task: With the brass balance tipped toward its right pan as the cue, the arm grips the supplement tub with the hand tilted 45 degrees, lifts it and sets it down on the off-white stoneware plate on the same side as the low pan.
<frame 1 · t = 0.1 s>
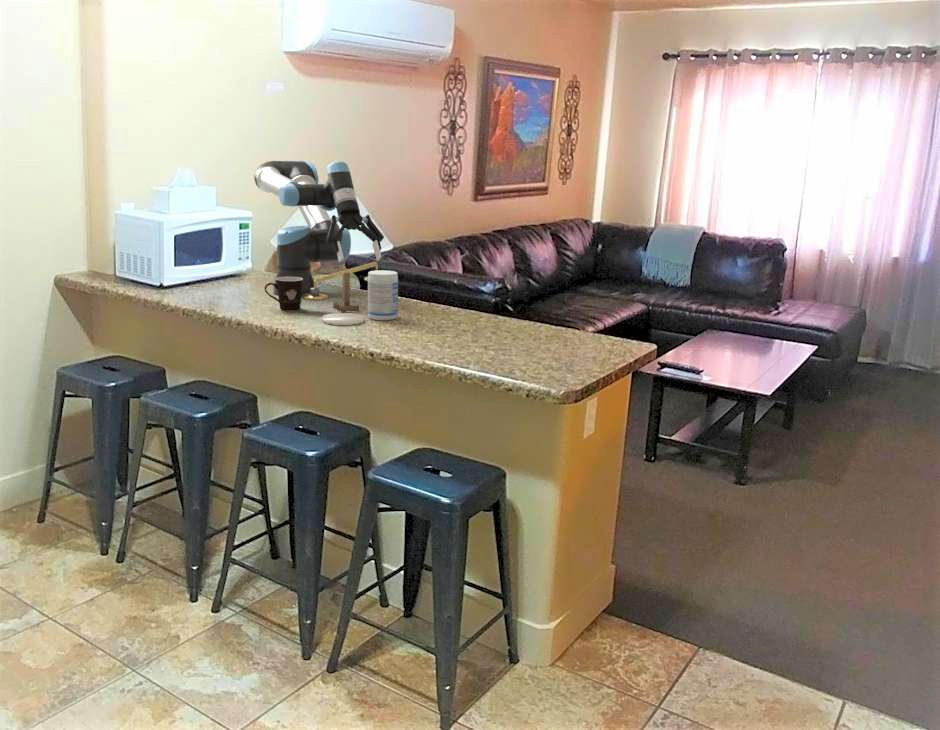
hand: (360, 260, 299), 15 cm above the table, tool tilted 35°, fingers open, 13 cm apart
plate: (343, 321, 278), on the table
balance: (346, 309, 295), on the table
supplement tub: (382, 318, 285), on the table
coffee mug: (285, 309, 293), on the table
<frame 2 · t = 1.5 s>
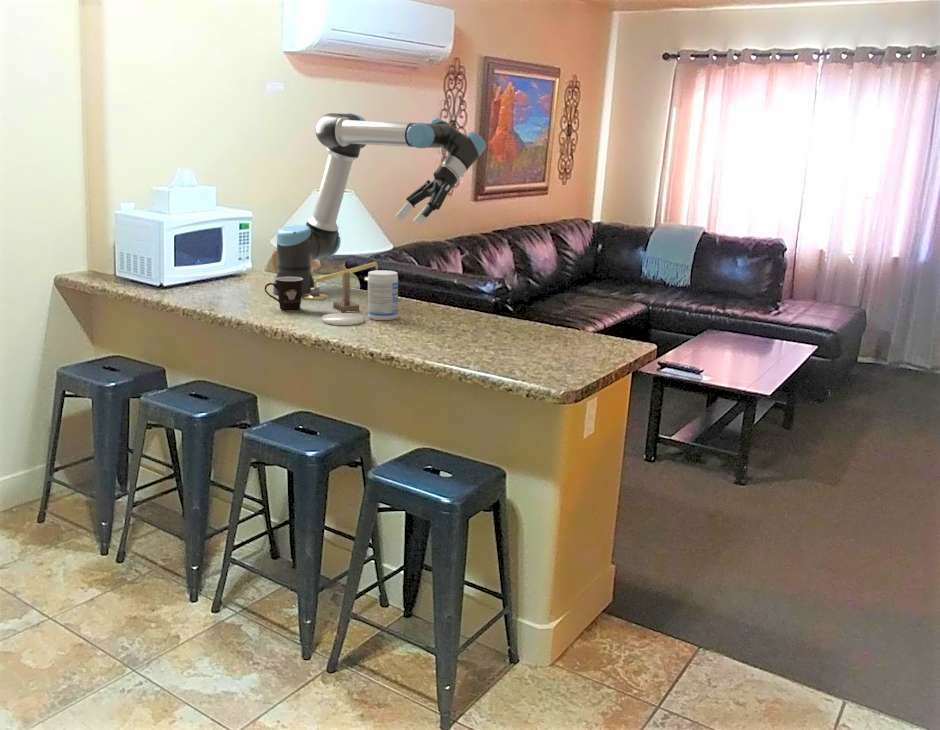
hand: (406, 221, 286), 30 cm above the table, tool tilted 45°, fingers open, 13 cm apart
nothing on the table moved.
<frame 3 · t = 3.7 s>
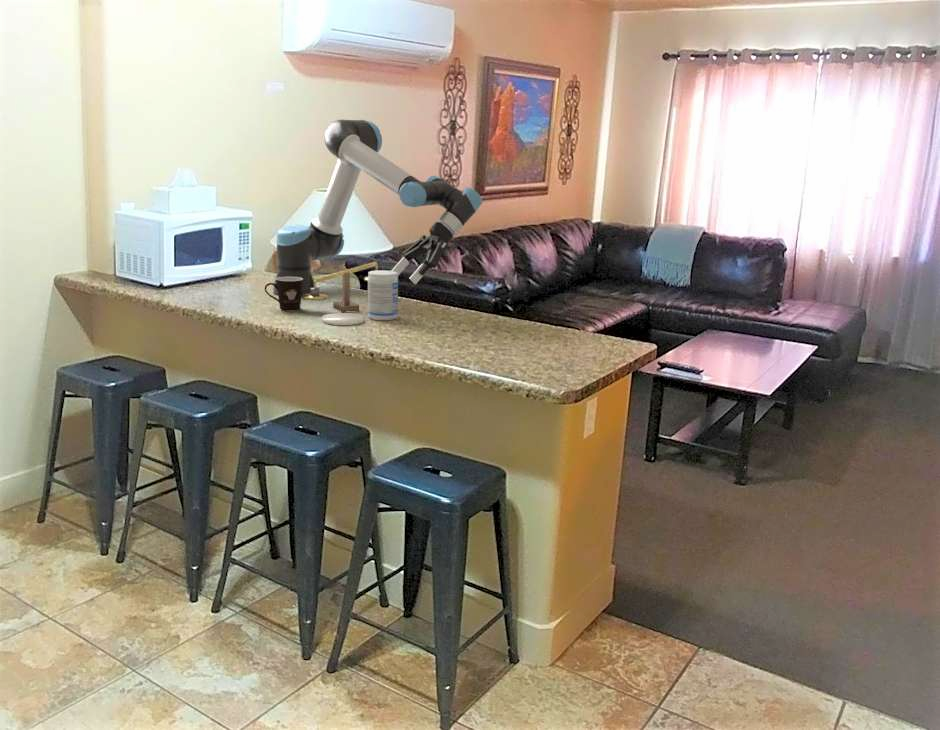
hand: (402, 278, 284), 13 cm above the table, tool tilted 45°, fingers open, 13 cm apart
nothing on the table moved.
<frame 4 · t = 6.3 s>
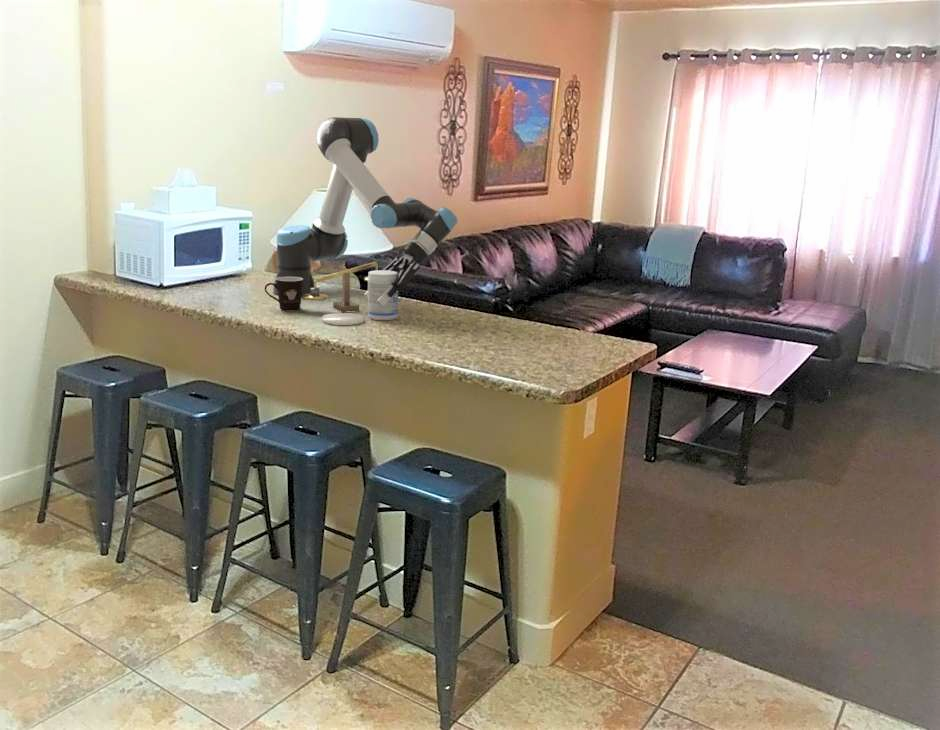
hand: (373, 300, 282), 6 cm above the table, tool tilted 45°, fingers closed on supplement tub, 10 cm apart
supplement tub: (382, 318, 285), on the table, touching gripper
everything else where it was.
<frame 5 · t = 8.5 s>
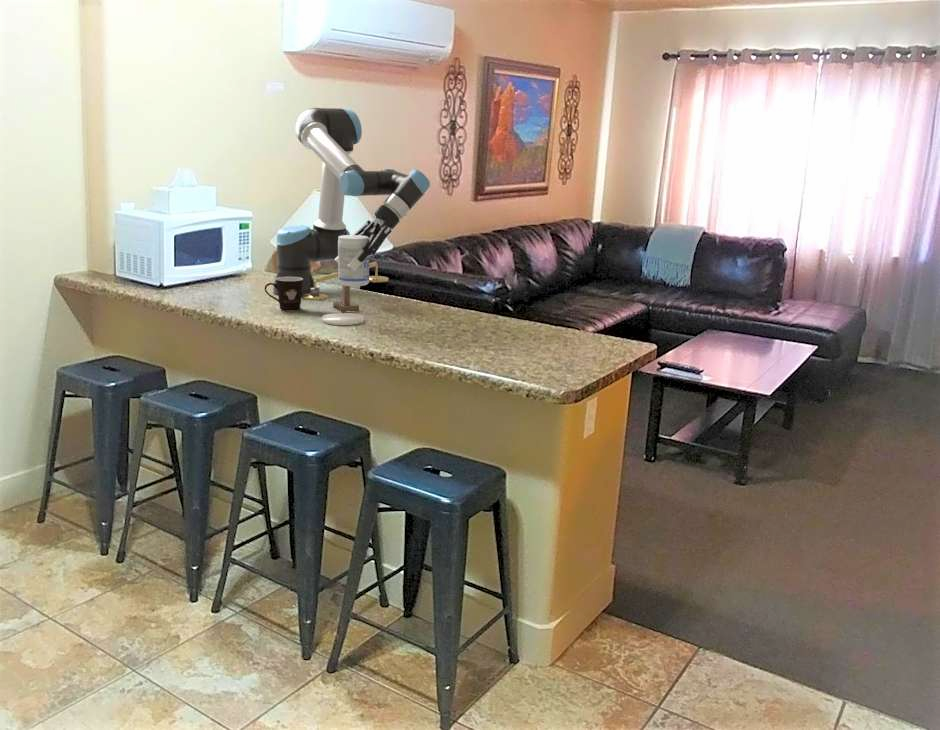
hand: (344, 265, 273), 17 cm above the table, tool tilted 45°, fingers closed on supplement tub, 10 cm apart
supplement tub: (353, 284, 276), point 11 cm above the table, touching gripper
everything else where it was.
when the fingers open (9 cm above the table, at t = 10.9 s): supplement tub drops 2 cm, resting on plate.
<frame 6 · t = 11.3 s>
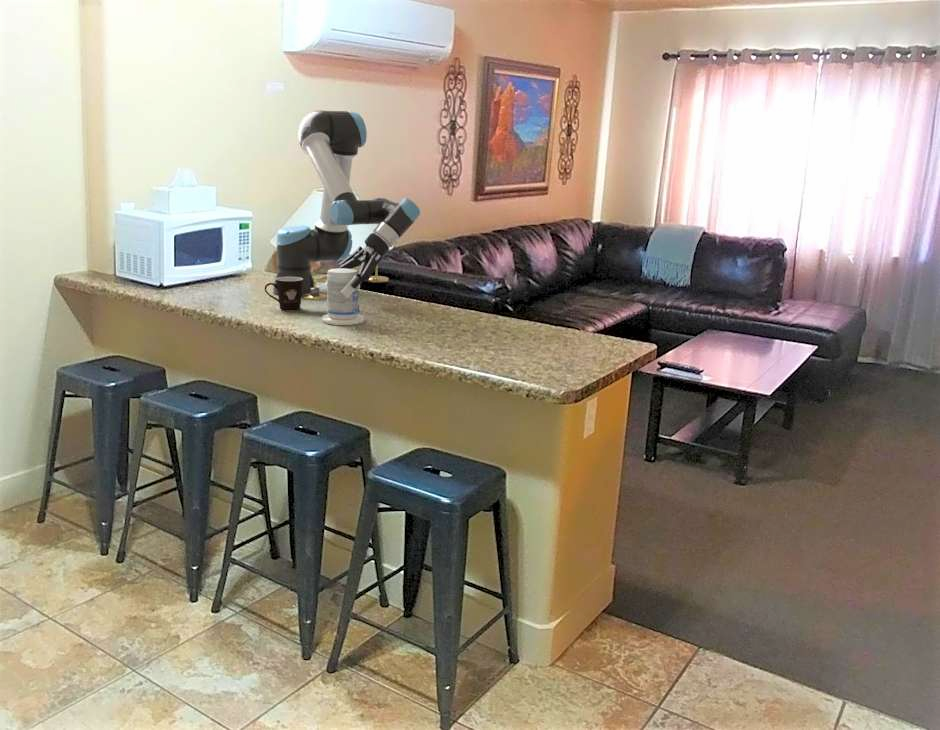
hand: (335, 291, 274), 10 cm above the table, tool tilted 45°, fingers open, 13 cm apart
supplement tub: (342, 317, 278), point 1 cm above the table, touching plate
everything else where it was.
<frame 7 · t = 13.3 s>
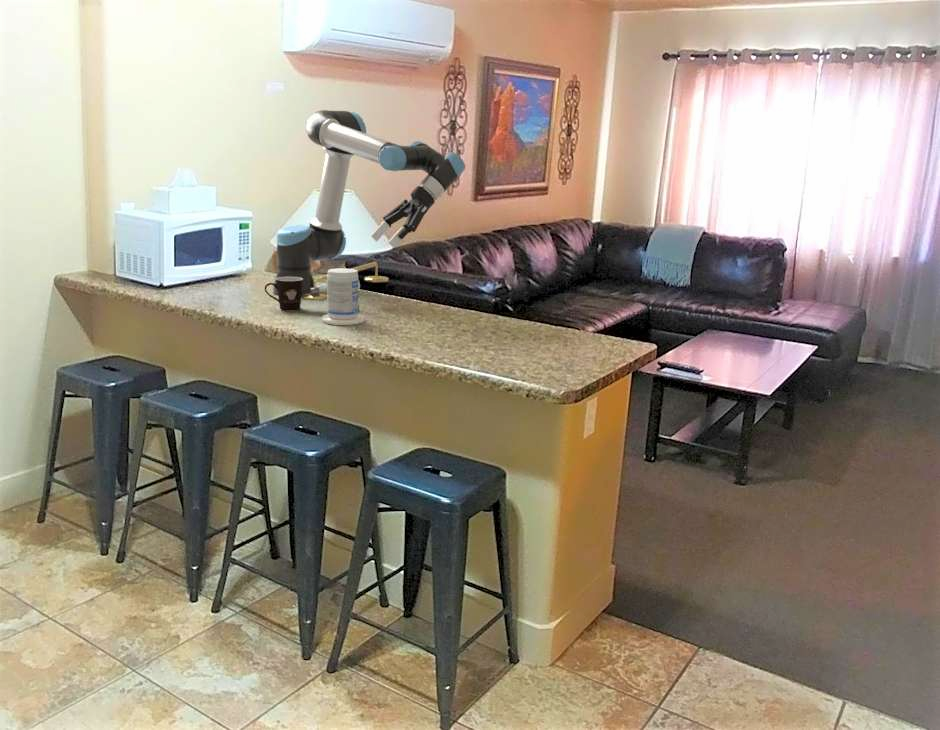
hand: (382, 241, 280), 24 cm above the table, tool tilted 45°, fingers open, 13 cm apart
nothing on the table moved.
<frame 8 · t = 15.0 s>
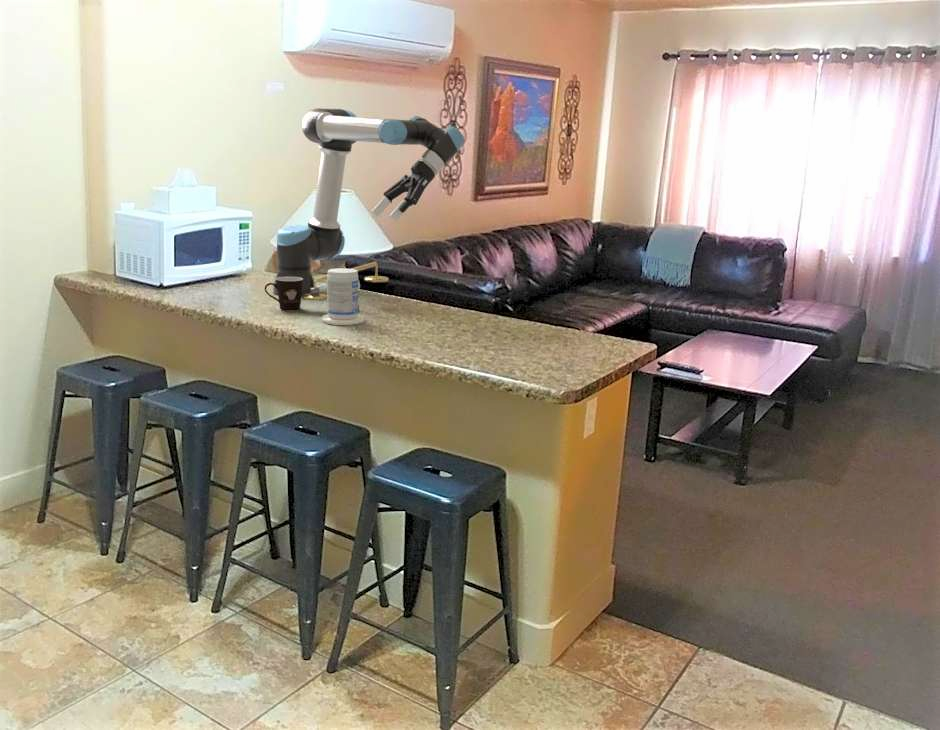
hand: (383, 216, 280), 32 cm above the table, tool tilted 45°, fingers open, 13 cm apart
nothing on the table moved.
at the end: supplement tub 0.3 cm from the plate (horizontally); supplement tub tilted 0°; supplement tub touching plate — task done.
